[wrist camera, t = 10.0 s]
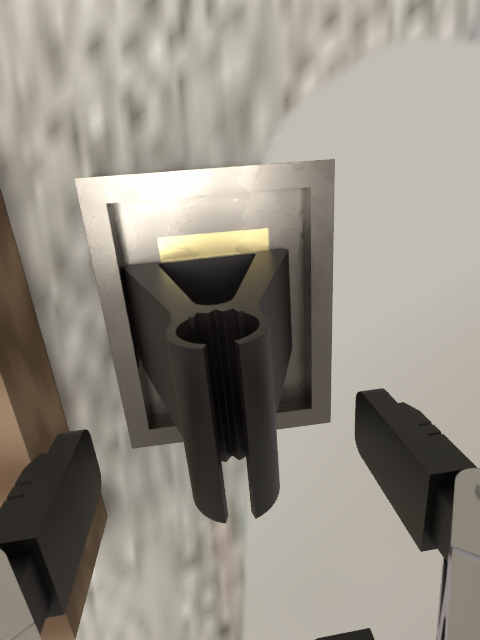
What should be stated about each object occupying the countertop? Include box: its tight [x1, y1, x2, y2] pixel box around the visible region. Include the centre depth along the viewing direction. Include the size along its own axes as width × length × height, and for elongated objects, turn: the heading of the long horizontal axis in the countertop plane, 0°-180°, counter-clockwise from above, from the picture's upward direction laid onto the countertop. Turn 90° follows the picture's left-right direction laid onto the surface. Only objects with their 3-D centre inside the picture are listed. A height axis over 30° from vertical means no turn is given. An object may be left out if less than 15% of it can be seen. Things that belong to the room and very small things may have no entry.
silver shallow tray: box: [75, 159, 335, 448], centre depth 22 cm, size 15×12×3 cm
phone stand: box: [123, 249, 292, 523], centre depth 16 cm, size 9×6×12 cm, turn 95°
